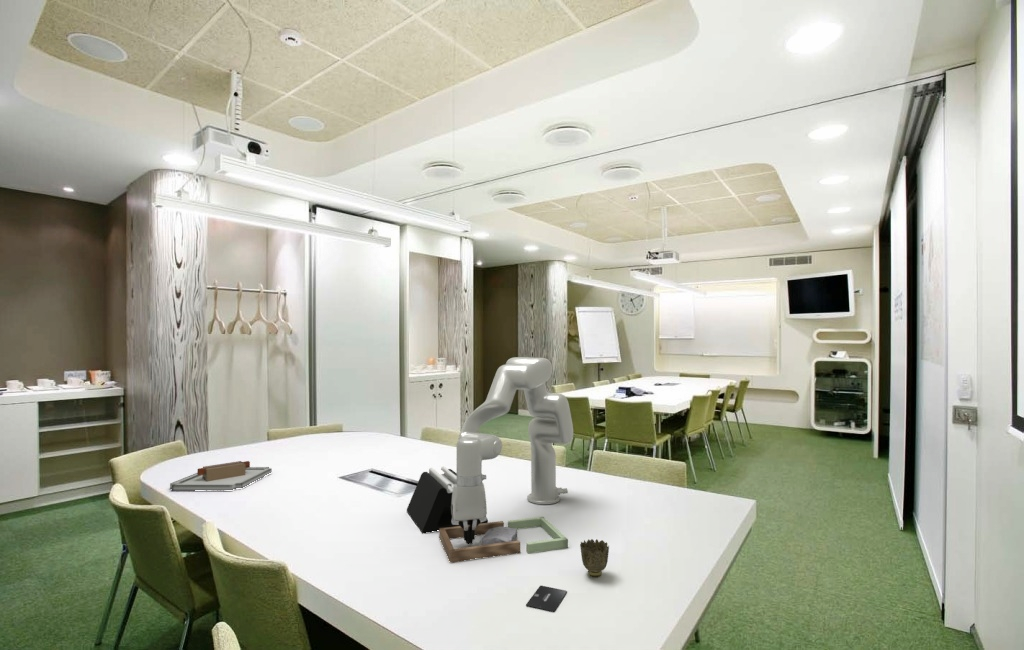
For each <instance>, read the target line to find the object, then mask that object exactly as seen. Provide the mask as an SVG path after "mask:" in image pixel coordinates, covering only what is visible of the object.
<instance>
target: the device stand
mask: <svg viewBox="0 0 1024 650" xmlns="http://www.w3.org/2000/svg"><path fill="white" fill-rule="evenodd" d="M440 470H441V471H442V472H444V473H442V474H441V473H439V472H438V471H437V470H435V469H434V468H433V467H429V469H428V471H423V472H422V473H421V474H420V475H419V480H418V481H417V484H416V486H415V488H414V491H413V492H412V496H411V498H410V501H409V503H408V505H407V508H406V512H407V514H408V515H409V516H410V517H412V518H411V519H412V520H413V522H414V524H415V525H416V526H417V527H418V529H419V530H420V532H421V533H422V534H423V533H424V534H427V533H426V532H430V533H433V532H432V531H436V532H438V531H437V530H439V528H447V527H456V526H460V525H453V524H452V523H451V519H452V515H451V503H452V492H453V487H454V484H457V472H456V471H454V470H453V469H452V468H447V467H446V466H441V469H440ZM470 522H471V520H467V524H468V525H470ZM481 523H489V520H488V518H487V520H486V521H484V522H481ZM481 523H479V524H481Z"/></svg>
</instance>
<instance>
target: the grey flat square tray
mask: <svg viewBox="0 0 1024 650" xmlns="http://www.w3.org/2000/svg"><path fill="white" fill-rule="evenodd" d="M271 472H272V468H271V467H269V466H251V461H249V460H246V461H241V460H237V461H231V462H225V463H220V464H211V465H205V466H202V467H200V468H197V472H194V473H193V474H191V475H187V476H185V477H183V478H181V479H179V480H178V479H177V480H176V481H173V482H170V483H169V485H170V486H169V490H170V489H172V490H171V492H196V491H195V490H233V489H235V488H243V487H245V486H247V485H249V484H250V483H252V482H254V481H256V480H258V479H260V478H262V477H264V476H265V475H267V474H269V473H271ZM272 473H273V472H272ZM249 486H250V485H249ZM247 487H248V486H247ZM245 488H246V487H245Z"/></svg>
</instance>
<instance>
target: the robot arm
mask: <svg viewBox="0 0 1024 650" xmlns="http://www.w3.org/2000/svg"><path fill="white" fill-rule="evenodd" d="M552 373H553V364H552V363H551V361H550V360H549V359H547V358H545V357H527V356H525V357H522V356H521V357H520V356H517V357H516V356H515V357H511V358H509V359H508V360H507V361H506V363H505V364H502V365H500V366H499V367H498V368H497V370H496V372H495V375H494V377H493V380H492V383H491V386H490V388H489V391H488V392H487V393H488V394H487V396H486V399H485V401H483V403H482V404H480V405H479V406H478V407H477V408H475V409H474V410H473V411H472V412H471V413H470V414H469V415H468V416H467V418H466V419H465V421H464V423H463V424H462V427H461V430H460V432H459V435H458V437H457V443H456V473H457V484H454V487H453V492H452V503H451V515H452V519H451V523H452V524H453V525H460V526H461V527H462V528H463V529H464V537H463V541H464V542H465V543H466V544H467V545H468V546H469V545H473V544H474V540H475V529H476V527H477V526H478V525H479V523H481V522H484V521H486V520H487V519H488V518H487V496H486V489H485V484H484V482H483V481H484V480H487V474H483V473H482V471H483V470H482V467H483V465H482V463H483V461H486V460H487V461H488V460H493V459H496V458H497V457H499V455H501V453H502V450H503V442H502V440H501V439H500V437H499V436H497V435H495V434H491V433H481V432H478V431H479V429H480V428H481V427H482V426H483V425H484V424H485V423H488V422H489V421H492V420H493V419H496V418H499V417H502V416H503V415H506V414H508V413H509V412H510V410H511V407H512V404H513V401H514V398H515V395H516V393H517V390H518V391H519V390H523V393H524V397H525V403H526V407H527V410H528V413H529V415H531V417H533V418H532V419H531V420H530V421H529V423H528V436H529V442H530V463H531V464H530V468H531V469H530V478H531V479H530V481H531V482H530V484H531V485H530V486H531V488H530V489H531V493H529V494H528V495H527V501H528V502H529V503H531V504H535V505H554V504H557V503H558V502H560V500H561V497H560V495H564V494H565V495H566V494H568V492H569V490H568V488H562V487H557V483H556V482H557V481H556V480H557V478H556V477H557V476H556V475H557V473H556V472H557V470H556V469H557V468H556V467H557V466H556V465H557V464H556V457H557V455H556V452H555V449H554V447H553V445H552V444H555V445H557V444H558V445H567V444H570V443H571V442H572V441H573V438H574V425H573V420H572V412H571V409H570V403H569V400H568V398H567V396H565V395H564V394H562V393H558V392H554V393H553V392H549V391H548V390H547V387H546V382H548V381H549V380H550V378H551V377H552ZM467 520H471V522H470V526H469V528H468V524H467Z"/></svg>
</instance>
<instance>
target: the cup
mask: <svg viewBox="0 0 1024 650" xmlns="http://www.w3.org/2000/svg"><path fill="white" fill-rule="evenodd" d="M579 545H580V546H579V547H580V552H581V561H582V565H583V567H584V568H585V569H586V570H587V574H588V576H589V577H591V578H594V579H596V578H600V577H601V576H602V575H603V571H604V570H605V569H606V567H607V565H608V559H609V550H610V545H608V542H606V541H604V540H600V541H599V539H595V540H594V539H592V538H591V539H589V538H588V539H587V541H586V540H585V539H584V540H583V541H580V544H579Z"/></svg>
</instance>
